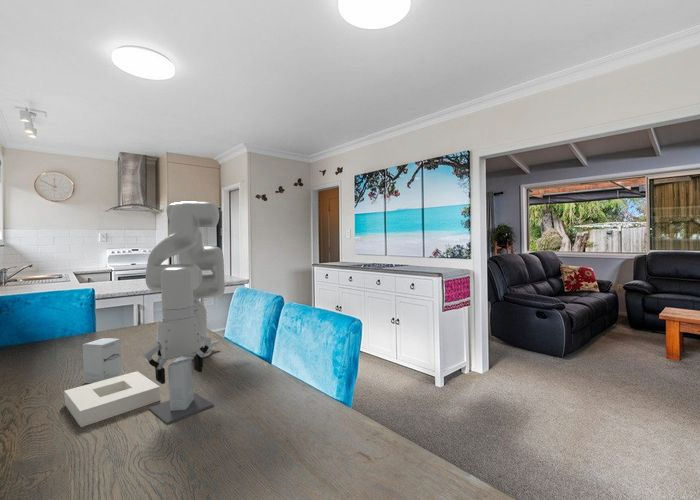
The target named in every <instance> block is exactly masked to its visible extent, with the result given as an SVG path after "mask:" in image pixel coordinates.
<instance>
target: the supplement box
mask: <svg viewBox="0 0 700 500" xmlns="http://www.w3.org/2000/svg"><path fill="white" fill-rule="evenodd" d="M121 351H122V350H121V338H111V337H110V338H108V337H106V338H104V337H103V338H100V339H99V338H98V339H96V340H93V341H90V342H85V343H84V344H83V343H82V357H83V358H82V364H83V384H84V383H85V384H91V383H95V382H99V381H103V380H106V379H110V378H114V377H117V376H121V375H122V357H121V355H122V354H121Z"/></svg>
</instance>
